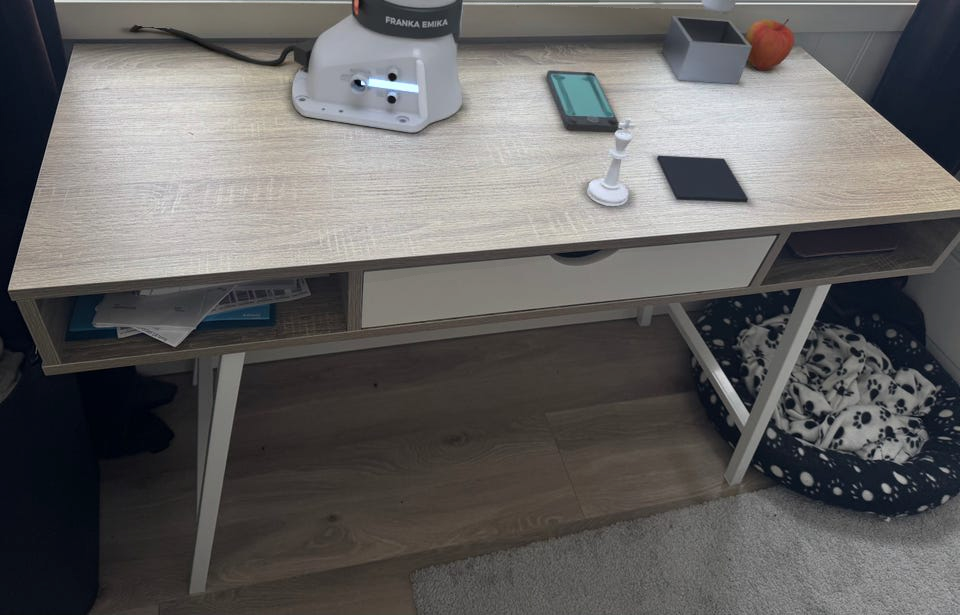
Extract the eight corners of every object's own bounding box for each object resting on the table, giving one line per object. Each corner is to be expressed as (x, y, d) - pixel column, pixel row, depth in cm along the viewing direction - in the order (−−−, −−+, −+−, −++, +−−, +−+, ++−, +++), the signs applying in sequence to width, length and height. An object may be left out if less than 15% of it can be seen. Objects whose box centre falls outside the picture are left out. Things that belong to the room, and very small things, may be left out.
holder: (678, 80, 112) (690, 42, 108) (661, 52, 119) (672, 15, 115) (738, 84, 113) (752, 46, 109) (717, 56, 120) (730, 19, 116)
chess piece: (583, 181, 89) (602, 106, 82) (622, 183, 89) (644, 109, 82) (591, 205, 85) (611, 129, 78) (631, 207, 86) (655, 131, 79)
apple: (732, 53, 122) (749, 5, 116) (775, 59, 122) (794, 11, 117) (742, 73, 116) (761, 24, 111) (787, 79, 117) (808, 30, 111)
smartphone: (568, 122, 96) (546, 68, 107) (566, 130, 97) (545, 76, 108) (621, 124, 98) (595, 71, 108) (619, 132, 98) (593, 79, 109)
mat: (676, 199, 88) (677, 196, 88) (656, 158, 95) (657, 155, 94) (746, 202, 89) (748, 199, 89) (722, 161, 96) (724, 158, 95)
